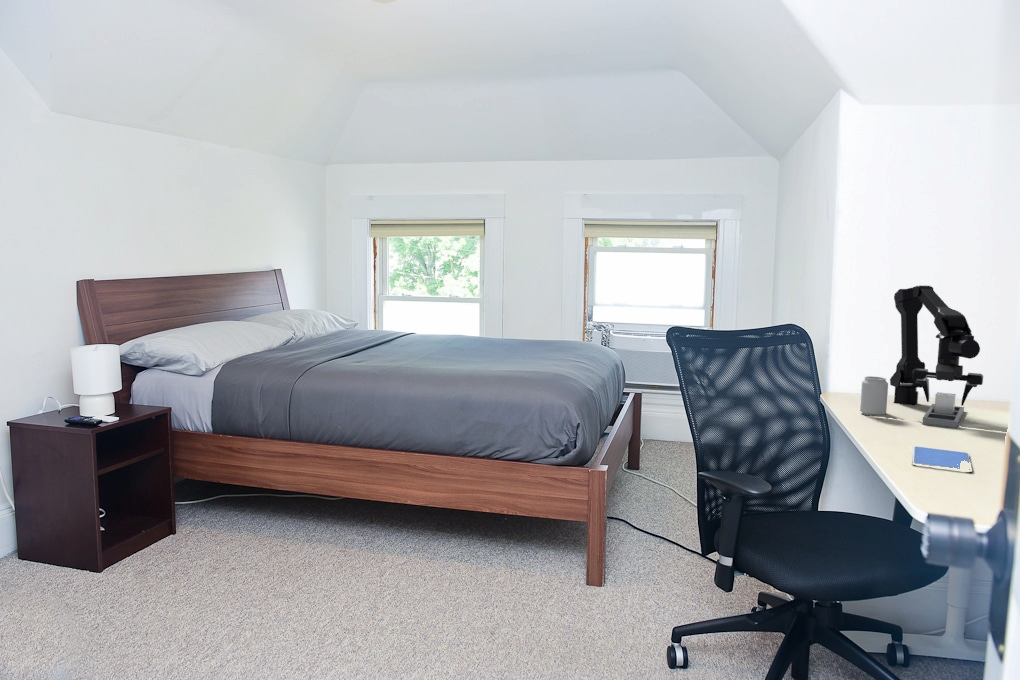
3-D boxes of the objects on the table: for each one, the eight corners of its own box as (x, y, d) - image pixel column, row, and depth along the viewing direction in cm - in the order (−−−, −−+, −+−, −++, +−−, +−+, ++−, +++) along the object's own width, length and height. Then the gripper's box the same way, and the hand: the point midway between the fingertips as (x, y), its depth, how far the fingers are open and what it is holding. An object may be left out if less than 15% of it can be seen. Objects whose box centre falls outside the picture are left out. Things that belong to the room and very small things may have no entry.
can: (880, 412, 235) (882, 375, 234) (890, 417, 228) (892, 379, 227) (856, 411, 236) (858, 375, 235) (865, 416, 229) (867, 379, 227)
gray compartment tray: (922, 424, 218) (922, 417, 218) (931, 409, 240) (932, 403, 240) (957, 428, 213) (957, 421, 213) (963, 413, 235) (964, 407, 235)
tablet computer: (912, 450, 190) (913, 445, 190) (969, 457, 184) (969, 451, 184) (911, 468, 174) (911, 462, 174) (973, 476, 168) (973, 470, 167)
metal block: (933, 416, 226) (935, 394, 225) (935, 413, 230) (937, 392, 229) (952, 418, 223) (954, 396, 222) (953, 416, 227) (955, 394, 227)
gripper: (911, 354, 223) (907, 404, 225) (983, 359, 213) (978, 411, 214) (915, 350, 232) (912, 398, 234) (985, 355, 222) (980, 405, 223)
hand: (944, 403), depth 226 cm, fingers open, 9 cm apart
